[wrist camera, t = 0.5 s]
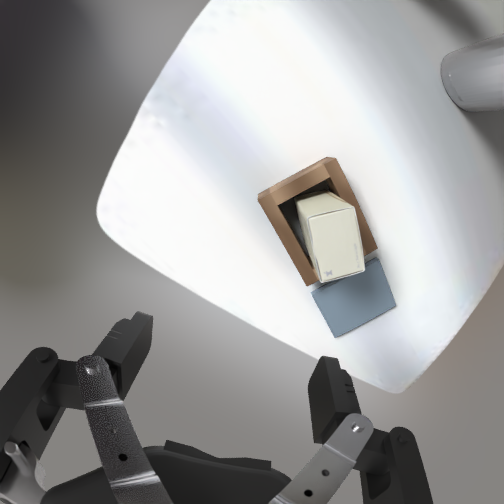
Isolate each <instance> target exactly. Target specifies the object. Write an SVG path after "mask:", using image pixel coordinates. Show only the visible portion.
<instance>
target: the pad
mask: <svg viewBox="0 0 504 504" xmlns="http://www.w3.org/2000/svg"><path fill="white" fill-rule="evenodd" d="M364 265H365V271H364V272H360V273H357V274H354V275H351V276H347V277H343V278H340V279H336V280H334V281H332V282H330V283H328V284H326V285H324V286H322V287H320V288H318V289H316V290H314V291H313V292H311V294H312V297H313V298H314V300H315V302H316V304H317V306H318V308H319V309H320V311H321V313H322V315H323V317H324V319H325V320H326V322H327V324H328V326H329V328H330V330H331V332H332V333H333V335H334V337H335V338H336V337H338V336H340V335H342V334H344V333H346V332H348V331H350V330H352V329H354V328H356V327H358V326H360V325H362V324H363V323H365V322H367V321H369V320H371V319H373V318H375V317H376V316H378V315H380V314H382V313H384V312H386V311H387V310H389V309H391V308H393V307H394V306H396V304H395V301H394V298H393V295H392V293H391V290H390V287H389V285H388V282H387V279H386V277H385V274H384V271H383V269H382V266H381V264H380V261H379V259H378V258H377V257H376V258H374V259H372V260H371V261H369V262H367V263H365V264H364Z"/></svg>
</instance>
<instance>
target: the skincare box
mask: <svg viewBox="0 0 504 504" xmlns="http://www.w3.org/2000/svg"><path fill="white" fill-rule="evenodd" d="M294 200H295V205H296V209H297V214H298V218H299V222H300V227H301V231H302V235H303V239H304V243H305V245H306V248H307V250H308V253H309V255H310V257H311V260H312V262H313V265H314V267H315V270H316V273H317V275H318V278H319V280H320V282H321V283H324V282H328V281H332V280H336V279H340V278H343V277H347V276H351V275H354V274H357V273H360V272H364V271H365V265H364V256H363V248H362V242H361V236H360V231H359V225H358V221H357V216H356V211H355V208H354V206H352V205H350V204H349V203H347V202H346V201H344V200H343V199H341V198H339V197H338V196H336V195H335V194H333V193H331V192H330V191H328V190H323V191H318V192H313V193H309V194H305V195H301V196H297V197H295V198H294Z"/></svg>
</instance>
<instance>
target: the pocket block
mask: <svg viewBox="0 0 504 504" xmlns="http://www.w3.org/2000/svg"><path fill="white" fill-rule="evenodd" d="M324 180H325V181H326V182H327V184H328V186H329V188H330V190H331V192H332V193H333V194H335V195H336V196H338V197H339V198H341V199H343V200H344V201H346V202H347V203H349V204H350V205H352V206H354V208H355V211H356V216H357V221H358V225H359V231H360V236H361V242H362V248H363V256H365V255H367V254H369V253H371V252H372V251H374V250H376V249H378V248H377V245H376V243H375V241H374V238H373V236H372V234H371V231H370V229H369V227H368V224H367V222H366V220H365V217H364V215H363V213H362V211H361V209H360V206H359V204H358V202H357V200H356V198H355V196H354V194H353V191H352V189H351V187H350V185H349V183H348V181H347V179H346V177H345V175H344V173H343V171H342V169H341V167H340V165H339V163H338V161H337V159H336V158H331V157H326V158H324V159H322V160H320V161H318V162H316V163H314V164H313V165H311V166H309V167H307V168H305V169H303V170H301V171H299V172H298V173H296V174H294V175H292V176H290V177H288V178H286V179H285V180H283V181H281V182H279V183H277V184H275V185H274V186H272V187H270V188H268V189H266V190H265V191H263V192H261V193H259V194H258V202H259V203H260V205H261V207H262V208H263V210H264V212H265V214H266V215H267V217H268V219H269V220H270V222H271V224H272V226H273V227H274V229H275V231H276V233H277V234H278V236H279V238H280V240H281V241H282V243H283V245H284V247H285V248H286V250H287V252H288V254H289V255H290V257H291V259H292V261H293V263H294V264H295V266H296V268H297V270H298V272H299V273H300V275H301V277H302V279H303V281H304V282H305V284H306V286H309V285H311V284H313V283H315V282H317V281H319V278H318V275H317V273H316V270H315V267H314V265H313V262H312V260H311V257H310V255H309V256H307V255H306V253H305V251H304V250H303V248H302V246H301V244H300V242H299V240H298V239H297V237H296V235H295V233H294V231H293V229H292V228H291V226H290V224H289V222H288V220H287V219H286V217H285V215H284V213H283V211H282V210H281V208H280V206H279V204H281V203H283V202H285V201H286V200H288V199H290V198H292V197H294V196H296V195H297V194H299V193H301V192H303V191H305V190H307V189H309V188H310V187H312V186H314V185H316V184H318V183H320V182H322V181H324Z"/></svg>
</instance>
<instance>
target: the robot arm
mask: <svg viewBox="0 0 504 504" xmlns="http://www.w3.org/2000/svg"><path fill="white" fill-rule="evenodd" d="M441 76H442V80H443V84H444V86H445V89H446V91H447V93H448V94H449V96H450V97H451V99H452V100H453V101H454V102H455V103H456V104H457V105H458V106H459V107H461V108H462V109H464V110H466V111H470V112H477V111H494V110H504V33H503V34H500V35H497V36H494V37H491V38H489V39H486V40H483V41H480V42H478V43H475V44H472V45H470V46H467V47H464V48H461V49H459V50H456V51H454V52H451V53H449V54H448V55H446V56H445V58H444V59H443V62H442V65H441ZM152 327H153V316H151V315H148V314H145V313H142V312H136V313H135V315H134V316H133V318H132V319H131V320H129V319H122V320H120V321H119V322H117V323H116V324H115V325H114V326H113V328H112V329H111V331H109V333H108V334H107V336H106V337H105V338H104V339H103V341H102V342H101V344H100V345H99V346H98V347H97V349H96V350H95V351H94V353H93V354H92V355H86V356H83V357H81V358H80V359H79V360H78V361H76V362H74V361H67V360H60V359H58V355H57V353H56V352H55V351H54V350H52V349H51V348H47V347H39V348H36V349H34V350H32V351H31V352H30V353H29V355H28V356H27V357H26V358H25V359H24V361H23V362H22V363H21V364H20V366H19V367H18V368H17V369H16V371H15V372H14V374H13V375H12V376H11V377H10V379H9V380H8V381H7V382H6V384H5V385H4V386H3V388H2V389H1V390H0V500H1V501H2V502H3V503H6V504H327V503H328V502H329V500H330V499H331V497H332V496H333V495H334V494H335V492H336V491H337V490H338V488H339V487H340V485H341V484H342V483H343V481H344V480H345V478H346V477H347V476H348V474H349V473H350V471H351V470H352V469H356V470H359V471H360V478H361V486H362V495H363V504H433V501H432V497H431V492H430V488H429V484H428V481H427V477H426V473H425V470H424V466H423V463H422V459H421V456H420V453H419V449H418V446H417V443H416V440H415V437H414V435H413V433H412V432H411V431H409V430H408V429H406V428H403V427H395V428H393V429H392V430H391V431H390V432H389V433H388V432H385V431H381V430H378V429H375V428H373V424H372V422H371V421H370V420H369V419H368V418H367V417H365V416H363V415H362V414H361V410H360V407H359V403H358V400H357V396H356V393H355V389H354V387H353V382H352V379H351V377H350V375H349V374H348V373H347V372H346V370H343V369H341V368H340V365H339V361H338V359H337V358H332V357H326V356H322V357H321V358H320V359H319V361H318V364H317V366H316V368H315V370H314V372H313V374H312V376H311V378H310V380H309V384H308V395H309V403H310V412H311V421H312V430H313V439H314V443H320V444H323V446H322V448H321V449H320V450H319V451H318V452H317V453H316V454H315V456H314V457H313V458H312V459H311V460H310V462H309V463H307V465H306V466H305V467H304V468H303V469H302V470H301V471H300V472H299V473H298V475H296V476H295V478H294V479H293V480H291V479H290V478H289V477H288V476H286V475H285V474H283V473H281V472H280V471H277V470H275V469H273V468H271V461H266V460H259V459H252V458H216V457H214V456H211V455H209V454H207V453H205V452H202V451H200V450H198V449H196V448H194V447H191V446H188V445H184V444H180V443H176V442H173V441H169V440H166V443H165V446H149V447H144V448H142V446H141V443H140V441H139V439H138V437H137V435H136V432H135V430H134V427H133V425H132V423H131V420H130V418H129V415H128V413H127V410H126V408H125V405H124V403H123V401H124V399H125V397H126V395H127V393H128V391H129V389H130V387H131V385H132V383H133V381H134V380H135V378H136V376H137V374H138V372H139V370H140V368H141V366H142V364H143V362H144V360H145V358H146V357H147V355H148V353H149V350H150V347H151V340H152ZM66 408H73V409H79V410H85V413H86V416H87V420H88V424H89V427H90V430H91V434H92V437H93V440H94V444H95V447H96V450H97V453H98V455H99V459H100V461H101V464H102V467H100V468H97V469H96V470H93V471H91V472H88V473H86V474H84V475H81V476H79V477H77V478H75V479H72V480H70V481H67V482H65V483H62V484H59V485H57V486H54V487H52V488H51V489H49V490H48V491H47V492H46V491H45V489H44V479H45V471H44V468H43V466H42V465H41V463H40V462H39V460H40V457H41V455H42V453H43V451H44V449H45V447H46V445H47V443H48V441H49V439H50V437H51V436H52V433H53V432H54V430H55V428H56V426H57V424H58V422H59V420H60V418H61V417H62V415H63V413H64V411H65V409H66Z"/></svg>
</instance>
